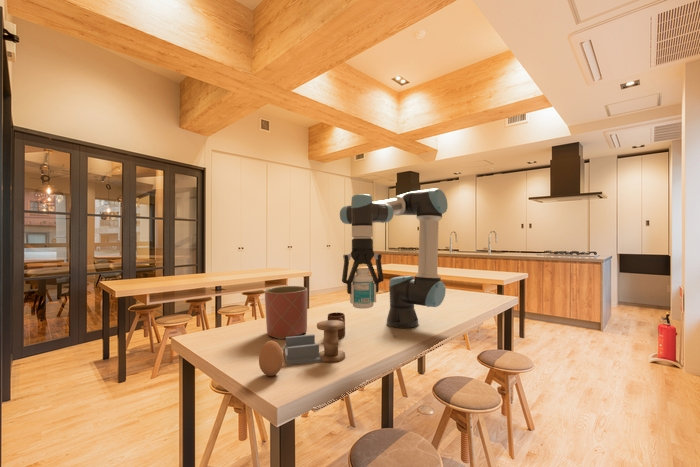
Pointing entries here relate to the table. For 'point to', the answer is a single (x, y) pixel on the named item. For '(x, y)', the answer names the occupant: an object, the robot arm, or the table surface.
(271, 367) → the egg
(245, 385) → the table surface
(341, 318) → the mug
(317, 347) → the card holder
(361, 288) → the pill bottle
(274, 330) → the planter
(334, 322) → the bobbin
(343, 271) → the robot arm
